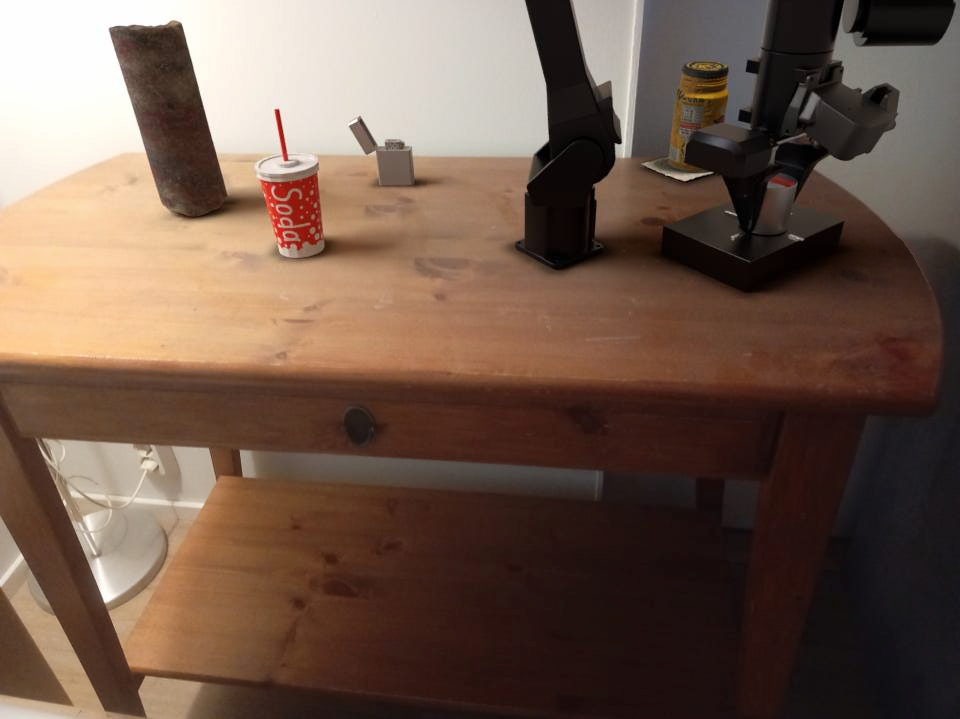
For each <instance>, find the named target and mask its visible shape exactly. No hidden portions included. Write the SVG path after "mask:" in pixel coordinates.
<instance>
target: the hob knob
mask: <svg viewBox="0 0 960 719" xmlns="http://www.w3.org/2000/svg"><path fill="white" fill-rule="evenodd" d="M796 188H797V180H796V179H795V178H794V177H792V176H789V175H786V174H783V173H779V174H778V175H776V176H775V177H773V178H772V179H771V180H770V181H769V182H768V185H767V189H766V192H765V196H764V199H763V203H762V206H761V210H760V213H759V217H758V220H757V223H756V225H755V228H754V230H753V231H752V232H751V233H755V234H760V235H777V234H781V233H784V232H785V231H786V230H787V229H788V225H789V220H790V216H791V211H792V206H793V202H794V197H795V192H796ZM794 203H795V202H794ZM739 226H740V224H739Z"/></svg>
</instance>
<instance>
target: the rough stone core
mask: <svg viewBox="0 0 960 719" xmlns="http://www.w3.org/2000/svg"><path fill="white" fill-rule="evenodd" d="M108 32H109V36H110V39H111V42H112V46H113V49H114V52H115V55H116V56H115V57H116V58H117V61H118V62H117V63H118V64H119V68H120V72H121V75H122V77H123V81H124V83H125V87H126V90H127V94H128V98H129V100H130V103H131V106H132V111H133V113H134V117H135V120H136V123H137V126H138V130H139V133H140V137H141V140H142V144H143V147H144V150H145V153H146V157H147V161H148V164H149V167H150V171H151V174H152V177H153V178H152V179H153V181H154V184H155V187H156V190H157V193H158V197H159V199H160V203H161V204H162V206H164V207H165V208H166V209H167V210H168V211H169V212H174V213H178V214H181V215H186V216H187V217H200V216H204V215H206V214H209V213H210V212H211V211H214V210H217V209H220V208H221V207H222V205H223V204H224V202H225V200H226V199H227V198H228V192H227V188H226V184H225V179H224V176H223V172H222V169H221V166H220V162H219V158H218V154H217V151H216V146H215V144H214V140H213V137H212V132H211V129H210V125H209V120H208V118H207V114H206V110H205V106H204V102H203V99H202V94H201V91H200V86H199V83H198V80H197V76H196V71H195V68H194V64H193V60H192V57H191V52H190V49H189V46H188V41H187V37H186V34H185V30H184V26H183V23H182V22H181V21H178V20H176V19H172V20H170V21H168V22H167V23H166V24H159V25H142V24H130V25H115V26H110V27H108Z"/></svg>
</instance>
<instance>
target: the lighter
mask: <svg viewBox="0 0 960 719" xmlns="http://www.w3.org/2000/svg"><path fill="white" fill-rule="evenodd" d="M347 126H348V128H349V130H350V131H351V133H352V134H353V136H354V138H355V140H356V141H357V143H358V144H359V146H360V148H361V149H362V151H363V152H364V154H365V155H366V156H369V155H370V154H372V153H374V152H375V156H376V164H377V165H376V166H377V174H378V183H379V186H413V185H414V183H415V182H416V180H415V169H414V156H413V155H414V154H413V147H412V145H406V144H405V141H403V140H402V139H401V138H386V139H385V140H384V145H379V144H378V143H377V141H376V140H375V138H374V136H373V135H372V133H371V131H370V130H369V128H368V126H367V124H366V123H365V121H364V119H363V118H362V116H361V115H358V116H356V117H355V118H353V119H350V120H349V122H348V123H347Z"/></svg>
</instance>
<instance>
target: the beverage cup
mask: <svg viewBox="0 0 960 719" xmlns="http://www.w3.org/2000/svg"><path fill="white" fill-rule="evenodd" d="M274 116H275V121H276V127H277V133H278V138H279V143H280V148H281V153H277V154H274V155H270V156H266V157H264V158H261V159H259V160H258V161H257V162H256V163H254V172H255V173H256V178H258V179H259V181H260V183H261V188H262V192H263V195H264V199H265V204H266V207H267V211H268V214H269V218H270V222H271V225H272V229H273V233H274V236H275V240H276V243H277V248H278V251H279V253H280V255H282V256H283V257H287V258H290V259H291V258H292V259H302V258H309V257H311V256H315V255H317V254H319V253H321V252H322V251H323V250H324V248H326V246H325V238H324V237H325V236H324V228H323V218H322V207H321V196H320V187H319V178H318V172H319V170H320V161H319V157H317V156H316V155H314V154H311V153H306V152H288V149H287V143H286V137H285V132H284V127H283V122H282V116H281V110H280V108H275V109H274Z"/></svg>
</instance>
